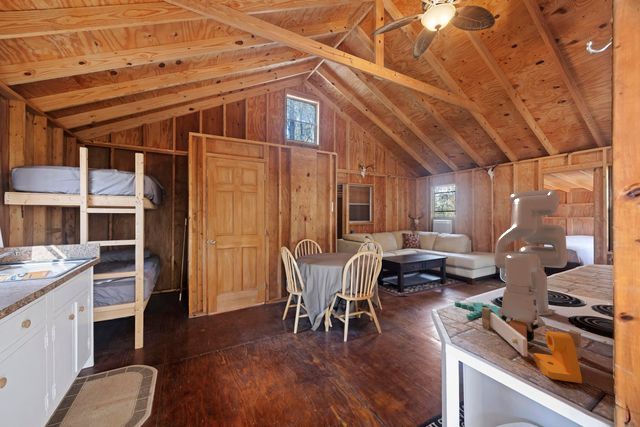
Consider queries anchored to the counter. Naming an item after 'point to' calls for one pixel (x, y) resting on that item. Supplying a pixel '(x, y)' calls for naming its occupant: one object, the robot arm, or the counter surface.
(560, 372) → the bracket
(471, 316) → the alien figure
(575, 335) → the gate frame
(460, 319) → the counter surface
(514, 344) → the gate door
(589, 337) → the counter surface
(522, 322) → the block
